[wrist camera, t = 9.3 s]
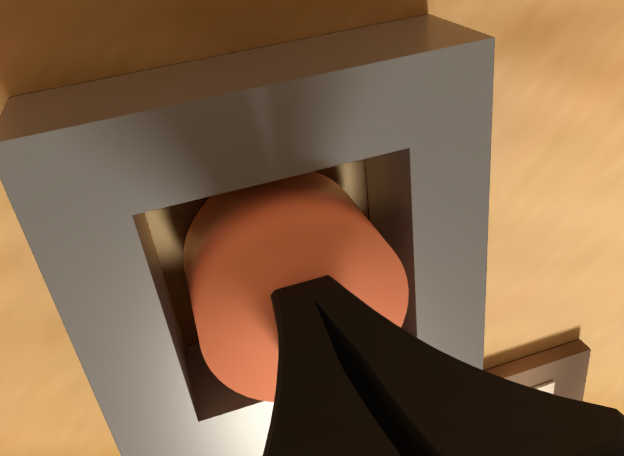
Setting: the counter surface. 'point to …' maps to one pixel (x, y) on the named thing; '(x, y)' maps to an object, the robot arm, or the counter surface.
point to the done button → (278, 269)
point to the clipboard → (551, 370)
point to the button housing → (241, 174)
